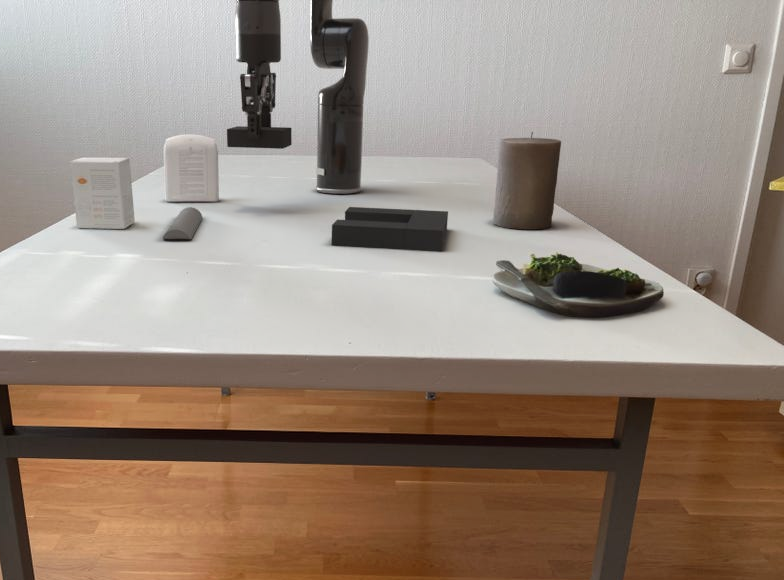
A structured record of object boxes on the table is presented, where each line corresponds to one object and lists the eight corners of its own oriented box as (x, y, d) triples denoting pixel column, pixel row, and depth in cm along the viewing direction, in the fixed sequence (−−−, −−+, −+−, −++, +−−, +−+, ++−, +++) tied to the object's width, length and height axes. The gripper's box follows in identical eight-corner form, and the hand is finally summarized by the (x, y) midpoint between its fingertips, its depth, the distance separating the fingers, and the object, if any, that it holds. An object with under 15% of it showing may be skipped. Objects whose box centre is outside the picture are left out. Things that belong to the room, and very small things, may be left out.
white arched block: (219, 198, 152) (217, 133, 148) (219, 202, 148) (217, 135, 144) (165, 199, 151) (162, 133, 146) (165, 203, 147) (161, 135, 143)
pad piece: (237, 143, 140) (237, 126, 138) (291, 145, 138) (291, 127, 136) (227, 147, 134) (226, 129, 133) (283, 148, 132) (283, 130, 131)
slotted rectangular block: (348, 225, 128) (349, 206, 127) (446, 229, 125) (448, 211, 124) (331, 245, 114) (331, 224, 113) (441, 251, 111) (443, 230, 110)
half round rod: (161, 241, 115) (160, 229, 114) (178, 217, 133) (177, 207, 133) (190, 241, 115) (189, 229, 114) (202, 217, 133) (202, 207, 133)
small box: (135, 223, 128) (131, 157, 124) (124, 229, 123) (119, 161, 119) (88, 221, 129) (82, 156, 125) (75, 228, 124) (69, 160, 120)
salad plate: (446, 282, 94) (449, 245, 93) (553, 266, 103) (557, 231, 101) (569, 327, 79) (575, 283, 77) (682, 303, 87) (690, 263, 85)
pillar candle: (564, 228, 128) (576, 133, 122) (514, 231, 124) (524, 134, 119) (527, 217, 136) (537, 128, 131) (480, 221, 133) (488, 129, 127)
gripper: (268, 30, 122) (269, 141, 128) (290, 33, 135) (290, 133, 141) (222, 30, 123) (226, 140, 129) (248, 33, 136) (250, 132, 143)
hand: (259, 136), depth 135 cm, fingers closed on pad piece, 6 cm apart
